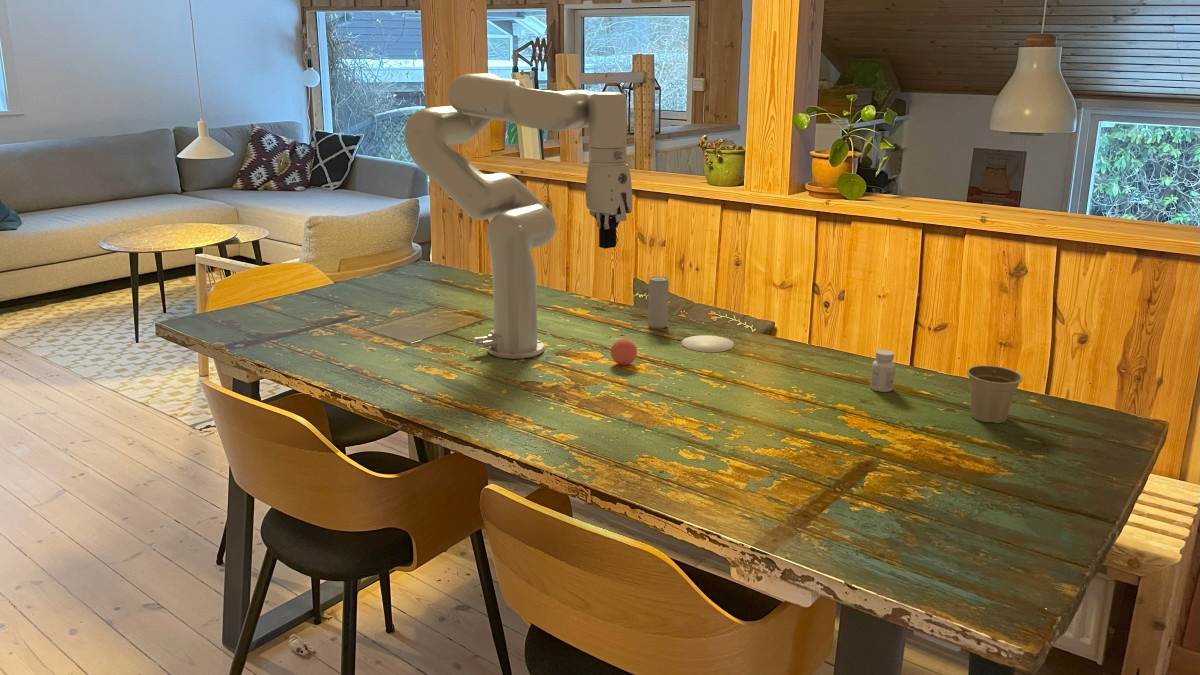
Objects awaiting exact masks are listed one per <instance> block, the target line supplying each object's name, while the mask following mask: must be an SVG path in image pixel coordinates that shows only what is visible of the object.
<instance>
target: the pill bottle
mask: <svg viewBox="0 0 1200 675" xmlns="http://www.w3.org/2000/svg"><path fill="white" fill-rule="evenodd" d="M894 359H895V353H894V352H893V351H892V350H887V349H879V350H876V351H875V360H874V361H873V362H872V364H871V375H870V384H869V387H870V388H871V389H872V390H873V391H875V392H878V391H879V392H880V393H888V392H889V393H890V392H891V391H893V389H894V388H893V387H894V380H895V370H896V365H895V363H894V362H893V361H894Z"/></svg>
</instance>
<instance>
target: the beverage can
mask: <svg viewBox="0 0 1200 675" xmlns="http://www.w3.org/2000/svg"><path fill="white" fill-rule="evenodd" d="M669 286H670V281H669V278H668V277H666V276H659V275H658V276H651V277H649V280H648V298H647V299H648V300H647V301H648V302H647V303H648V304H647V305H648V306H647V307H648V308H647V325H648V327H649V328H651V329H655V328H656V329H658V330H659V329H660V330H661V328H662V329H665V328H666V327H667V326H668V323H669V322H668V319H669V316H668V315H669V290H670V288H669Z"/></svg>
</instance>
